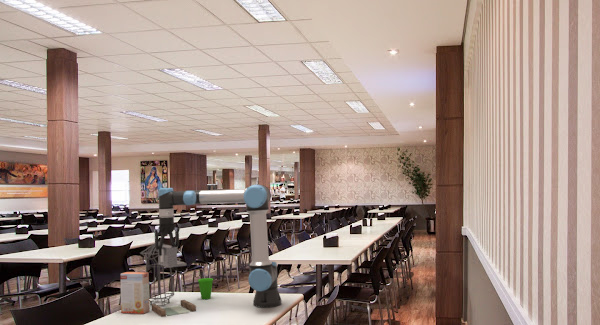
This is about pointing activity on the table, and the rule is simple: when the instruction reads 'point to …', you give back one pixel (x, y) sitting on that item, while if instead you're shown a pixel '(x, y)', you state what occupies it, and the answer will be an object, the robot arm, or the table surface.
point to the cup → (205, 287)
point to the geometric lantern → (158, 276)
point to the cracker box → (135, 292)
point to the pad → (175, 310)
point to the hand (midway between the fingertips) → (167, 261)
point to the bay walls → (184, 304)
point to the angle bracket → (170, 257)
